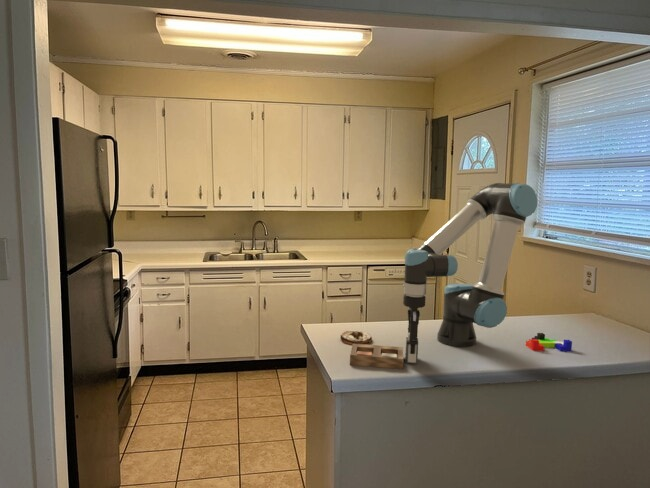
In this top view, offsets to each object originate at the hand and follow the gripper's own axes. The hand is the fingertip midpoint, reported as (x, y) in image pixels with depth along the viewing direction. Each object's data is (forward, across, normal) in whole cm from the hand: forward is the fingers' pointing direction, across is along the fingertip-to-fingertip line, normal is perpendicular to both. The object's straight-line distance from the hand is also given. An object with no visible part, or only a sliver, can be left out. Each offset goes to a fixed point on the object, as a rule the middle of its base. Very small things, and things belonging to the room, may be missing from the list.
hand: (411, 357), depth 171 cm
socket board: (+1, +2, -12) cm, 12 cm away
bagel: (+2, -19, -21) cm, 28 cm away
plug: (+2, 0, 0) cm, 2 cm away
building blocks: (+2, -29, +53) cm, 61 cm away
